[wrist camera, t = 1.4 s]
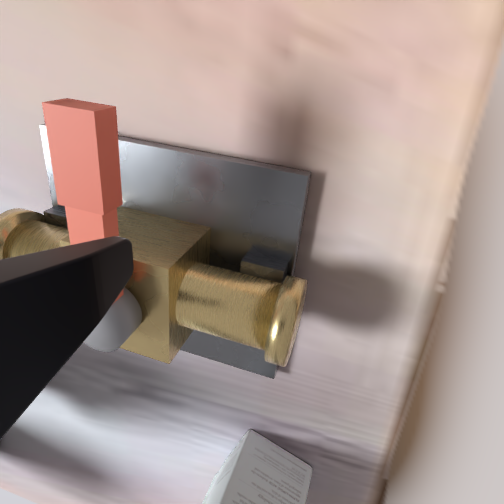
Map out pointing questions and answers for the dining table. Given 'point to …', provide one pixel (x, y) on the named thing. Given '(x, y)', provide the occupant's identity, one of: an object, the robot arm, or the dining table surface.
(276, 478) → the skincare box
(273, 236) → the valve body
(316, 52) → the dining table surface
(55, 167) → the lever
